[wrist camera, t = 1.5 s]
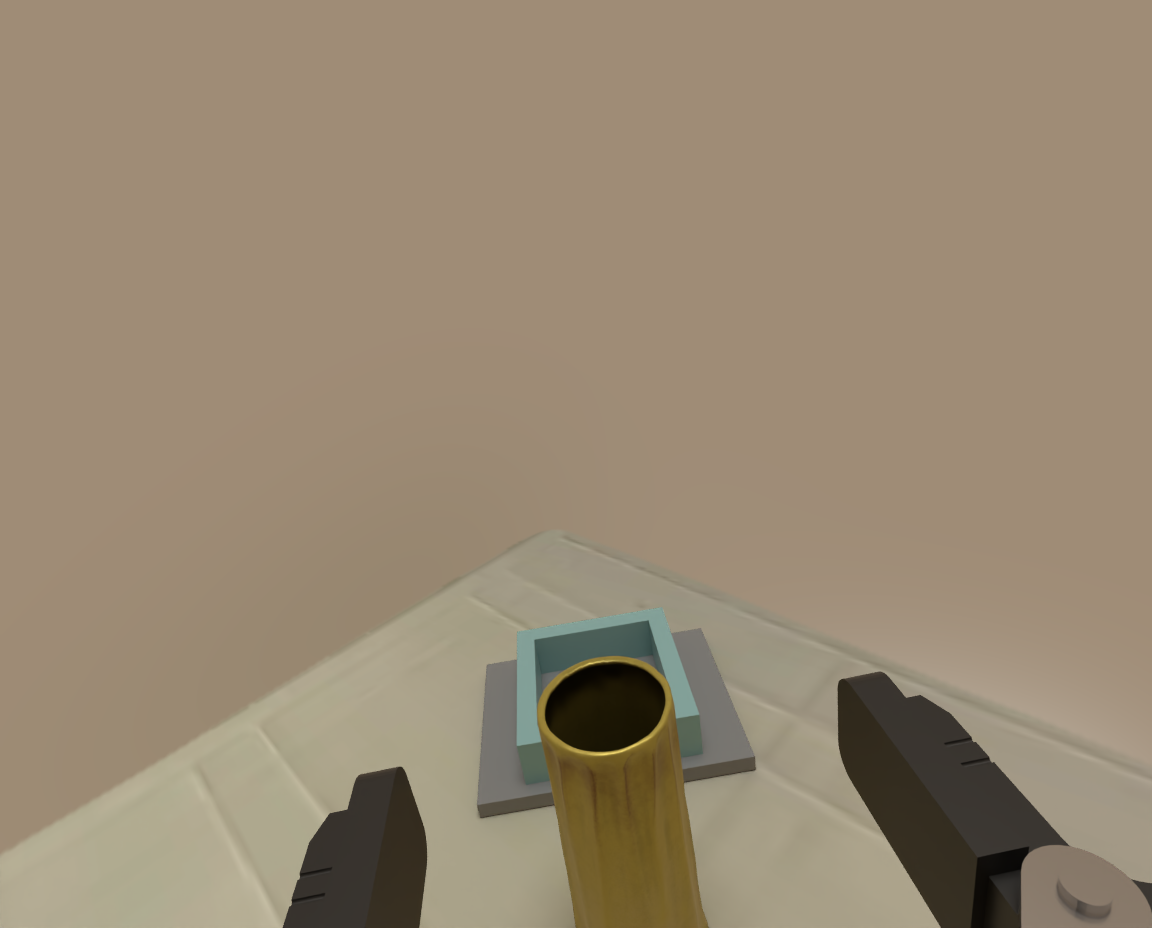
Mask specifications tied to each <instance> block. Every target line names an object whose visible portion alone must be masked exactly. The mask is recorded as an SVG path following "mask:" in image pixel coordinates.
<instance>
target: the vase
mask: <svg viewBox="0 0 1152 928" xmlns="http://www.w3.org/2000/svg"><path fill="white" fill-rule="evenodd" d="M537 721H538V728H539V733H540V738H541V742H542V746H543V750H544V755H545V759H546V764H547V769H548V773H549V778H550V783H551V789H552V794H553V799H554V804H555V809H556V814H557V819H558V825H559V831H560V837H561V843H562V849H563V855H564V859H565V864H566V869H567V875H568V880H569V886H570V891H571V897H572V903H573V910H574V918H575V924H576V928H709V927H708V923H707V920H706V917H705V915H704V912H703V909H702V904H701V898H700V892H699V887H698V880H697V870H696V861H695V854H694V848H693V841H692V834H691V828H690V821H689V815H688V809H687V804H686V798H685V793H684V779H683V770H682V762H681V754H680V746H679V738H678V731H677V724H676V714H675V706H674V701H673V697H672V693H671V689H670V686H669V683H668V681H667V680H666V678H665V677H664V676H663V675H662V674H661V673H659V672H658V671H657V670H656V669H655V668H654V667H652V666H651V665H649V664H648V663H646V662H643V661H641V660H638V659H634V658H630V657H624V656H606V657H597V658H592V659H588V660H585V661H582V662H580V663H578V664H575V665H573V666H571V667H569V668H568V669H566V670H564V671H563V672H561V673H560V674H558V675H557V676H556V677H555V678H554V679H553V680H552V681H551V682H550V683H549V684H548V685H547V687H546V688H545V689H544V691H543V693H542V695H541V697H540V699H539V702H538V706H537Z"/></svg>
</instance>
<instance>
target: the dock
mask: <svg viewBox="0 0 1152 928" xmlns="http://www.w3.org/2000/svg"><path fill="white" fill-rule="evenodd" d="M606 656H624V657H630V658H634V659H638V660H641V661H643V662H646V663H648V664H649V665H651V666H652V667H654V668H655V669H656V670H657V671H658V672H659V673H661V674H662V675H663V676H664V677H665V678H666V680H667V681H668V683H669V686H670V689H671V693H672V697H673V701H674V706H675V714H676V724H677V731H678V738H679V746H680V754H681V762H682V770H683V779H684V782H687V781H692V780H698V779H704V778H709V777H715V776H721V775H727V774H732V773H738V772H744V771H749V770H755V756H754V753H753V751H752V749H751V746H750V744H749V741H748V739H747V737H746V734H745V732H744V730H743V727H742V725H741V722H740V720H739V718H738V715H737V713H736V711H735V708H734V706H733V703H732V701H731V699H730V696H729V694H728V692H727V689H726V687H725V684H724V682H723V680H722V677H721V675H720V673H719V670H718V668H717V665H716V663H715V661H714V658H713V656H712V654H711V651H710V649H709V646H708V644H707V642H706V639H705V637H704V635H703V632H702V630H701V628H699V629H694V630H688V631H682V632H676V633H671V632H670V629H669V626H668V623H667V620H666V617H665V614H664V612H663V609H662V607H661V608H655V609H649V610H643V611H637V612H631V613H626V614H620V615H614V616H608V617H602V618H596V619H590V620H584V621H578V622H572V623H567V624H561V625H555V626H549V627H543V628H537V629H531V630H525V631H519V632H517V660H512V661H506V662H500V663H494V664H488V665H487V669H486V683H485V698H484V712H483V727H482V742H481V756H480V771H479V785H478V800H477V806H478V810H479V813H480V817H487V816H492V815H498V814H504V813H510V812H515V811H521V810H527V809H532V808H538V807H544V806H550V805H555V804H554V799H553V794H552V789H551V783H550V778H549V773H548V769H547V764H546V759H545V755H544V750H543V746H542V742H541V738H540V733H539V728H538V721H537V706H538V702H539V699H540V697H541V695H542V693H543V691H544V689H545V688H546V687H547V685H548V684H549V683H550V682H551V681H552V680H553V679H554V678H555V677H556V676H557V675H558V674H560V673H561V672H563V671H564V670H566V669H568V668H569V667H571V666H573V665H575V664H578V663H580V662H582V661H585V660H588V659H592V658H597V657H606Z"/></svg>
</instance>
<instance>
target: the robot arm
mask: <svg viewBox="0 0 1152 928" xmlns="http://www.w3.org/2000/svg"><path fill="white" fill-rule="evenodd" d="M838 742H839V750H840V754H841V758H842V761H843V764H844V767H845V769H846V772H847V774H848V776H849V778H850V780H851V781H852V783H853V785H854V786H855V788H856V790H857V791H858V793H859V794H860V796H861V798H862V799H863V801H864V803H865V804H866V806H867V808H868V809H869V811H870V812H871V814H872V816H873V817H874V819H875V821H876V822H877V824H878V825H879V827H880V829H881V830H882V832H883V834H884V835H885V837H886V839H887V840H888V842H889V843H890V845H891V847H892V848H893V850H894V852H895V853H896V855H897V856H898V858H899V860H900V861H901V863H902V865H903V866H904V868H905V870H906V871H907V873H908V874H909V876H910V878H911V879H912V881H913V883H914V884H915V886H916V887H917V889H918V891H919V892H920V894H921V896H922V897H923V899H924V901H925V902H926V904H927V905H928V907H929V909H930V910H931V912H932V914H933V915H934V917H935V918H936V920H937V922H938V923H939V925H940V927H941V928H1152V883H1145V882H1139V881H1136V880H1132V879H1130V878H1129V877H1128V876H1127V875H1126V874H1124V873H1123V872H1122V871H1121V870H1119V869H1118V868H1117V867H1115V866H1114V865H1113V864H1111V863H1109V862H1108V861H1106V860H1104V859H1103V858H1101V857H1099V856H1096V855H1094V854H1092V853H1090V852H1087V851H1084V850H1082V849H1078V848H1074V847H1070V846H1069V845H1068V844H1067V843H1066V842H1065V841H1064V840H1063V839H1062V838H1061V837H1060V836H1059V834H1058V833H1057V832H1056V831H1055V830H1054V829H1053V828H1052V827H1051V826H1050V824H1049V823H1048V822H1047V821H1046V820H1045V819H1044V818H1043V817H1042V815H1041V814H1040V813H1039V812H1038V811H1037V810H1036V809H1035V808H1034V807H1033V805H1032V804H1031V803H1030V802H1029V801H1028V800H1027V799H1026V798H1025V796H1024V795H1023V794H1022V793H1021V792H1020V791H1019V790H1018V789H1017V788H1016V786H1015V785H1014V784H1013V783H1012V782H1011V781H1010V780H1009V779H1008V777H1007V776H1006V775H1005V774H1004V773H1003V772H1002V771H1001V770H1000V769H999V767H998V766H997V765H996V764H995V763H994V762H993V763H992V762H991V761H990V759H989V756H988V755H987V754H986V753H985V752H984V751H983V750H982V748H981V747H980V746H979V745H978V744H977V743H976V742H973V741H972V737H971V736H970V735H969V734H968V733H967V732H966V731H965V729H964V728H963V727H962V726H961V725H960V724H959V723H958V722H957V720H956V719H955V718H954V717H953V716H952V715H951V714H950V713H949V712H947V711H946V710H944V709H942V708H941V707H939V706H937V705H936V704H934V703H933V702H931V701H929V700H928V699H926V698H924V697H923V696H921V695H918V696H913V697H909V698H906V697H905V696H904V695H903V694H902V692H901V691H900V690H899V689H898V688H897V686H896V685H895V684H894V683H893V682H892V680H891V679H890V678H889V677H888V676H887V675H886V674H885V673H883V672H875V673H870V674H865V675H860V676H855V677H851V678H846V679H841V680H840V681H839V683H838ZM426 867H427V843H426V835H425V830H424V826H423V823H422V820H421V817H420V814H419V811H418V808H417V805H416V802H415V799H414V796H413V793H412V790H411V787H410V784H409V781H408V778H407V775H406V773H405V770H404V769H403V768H402V767H396V768H391V769H386V770H381V771H376V772H371V773H366V774H361V775H359V776H358V777H357V778H356V781H355V784H354V787H353V791H352V795H351V798H350V802H349V806H348V810H344V811H339V812H334V813H330V814H329V815H328V817H327V818H326V819H325V821H324V822H323V824H322V825H321V827H320V828H319V829H318V831H317V832H316V834H315V835H314V837H313V838H312V840H311V841H310V842H309V845H308V849H307V852H306V855H305V858H304V861H303V865H302V868H301V871H300V880H298V881H297V884H296V887H295V890H294V893H293V897H292V905H291V906H290V907H289V909H288V913H287V916H286V919H285V922H284V925H283V928H419V925H420V917H421V909H422V900H423V892H424V884H425V876H426Z"/></svg>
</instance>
